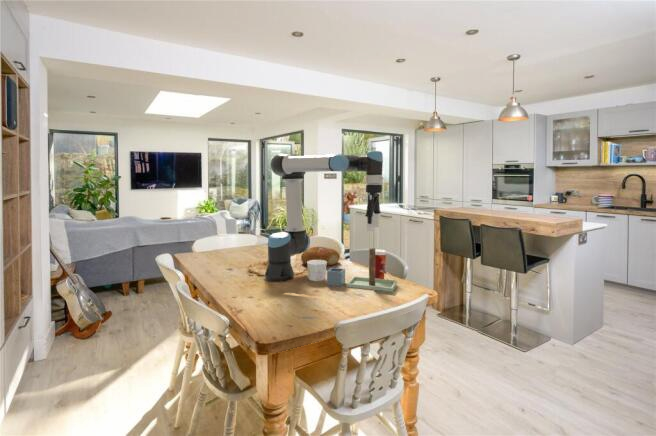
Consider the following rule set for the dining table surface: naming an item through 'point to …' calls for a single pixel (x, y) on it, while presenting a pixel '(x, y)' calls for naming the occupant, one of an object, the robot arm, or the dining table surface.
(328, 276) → the pot
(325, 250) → the bread
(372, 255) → the dowel
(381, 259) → the coffee cup
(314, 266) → the cup
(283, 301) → the dining table surface
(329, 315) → the dining table surface
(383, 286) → the tray
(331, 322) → the dining table surface
